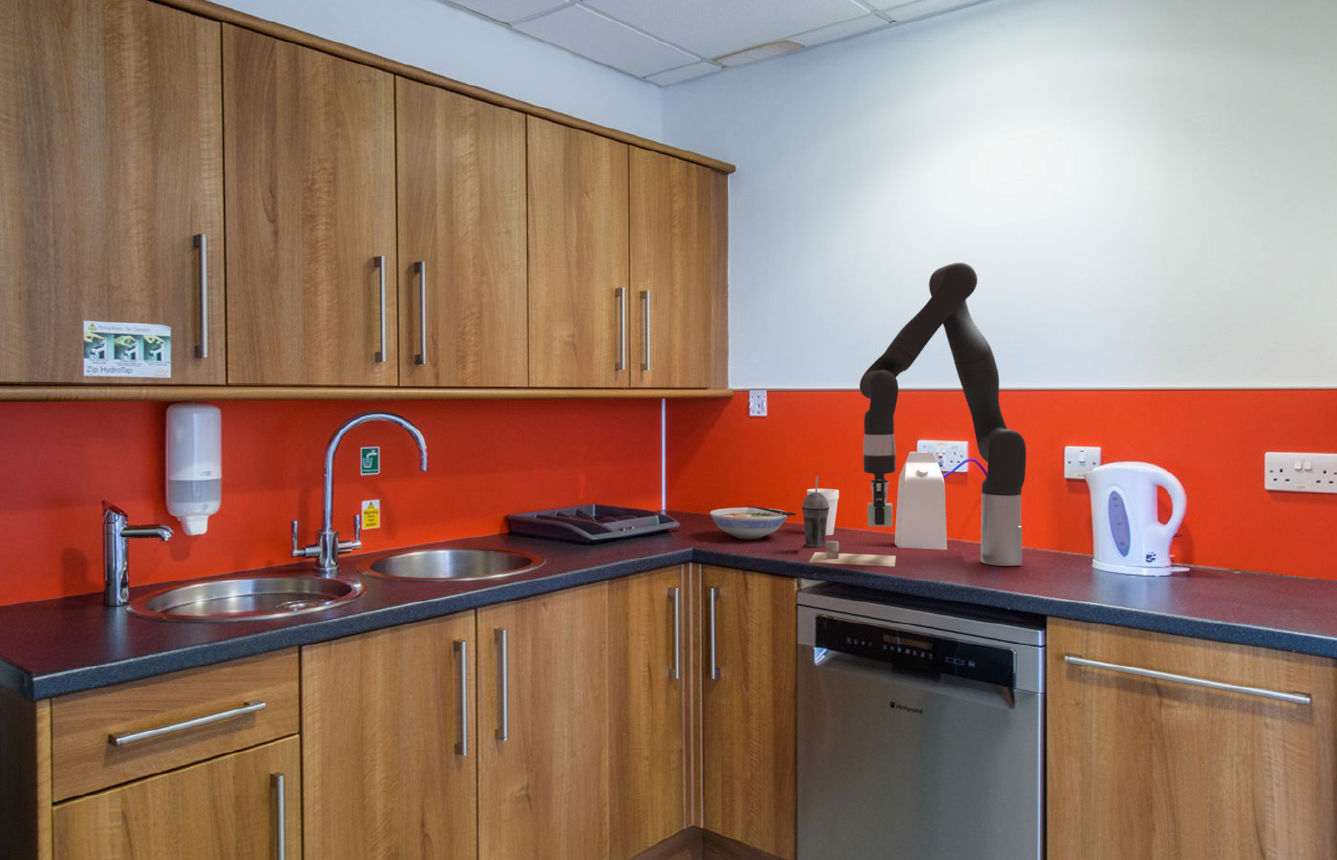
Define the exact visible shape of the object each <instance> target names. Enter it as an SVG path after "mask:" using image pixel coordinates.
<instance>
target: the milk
mask: <svg viewBox="0 0 1337 860" xmlns="http://www.w3.org/2000/svg"><path fill="white" fill-rule="evenodd" d="M944 479H945V478H944V475H943V473H942V471H941V468H940V466H939V463H938V461H937V458H936V456H935V455H934V453H933V452H932V451H910V452H909V453H908V456H907V458H906V460H905V462H904V464H903V467H902V469H901V471H900V474H899V476H898V486H897V497H896V498H897V501H896V513H895V514H896V517H895V529H894V530H895V531H894V544H895V546H896V547H897V548H899V549H901V548H904V549H923V550H925V549H927V550H948V542H947V541H948V539H947V514H946V513H947V512H946V507H947V506H946V484H945V480H944Z"/></svg>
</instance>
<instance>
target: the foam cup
mask: <svg viewBox="0 0 1337 860" xmlns="http://www.w3.org/2000/svg"><path fill="white" fill-rule="evenodd" d="M815 490H816V488H809V489H807V490H806V492H807V493H806V494H807V495H809V494H811V493H815ZM817 493H820V494H822V495H823V496H824V497H825V498H826V499H827V501H828V505H829V512H828V516H827V525H826V536H833V535H834V531H835V526H836V523H835V522H836V517H837V511H838V502H839V499H840V490H839V489H833V488H817ZM807 495H806V496H807Z"/></svg>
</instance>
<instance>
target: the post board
mask: <svg viewBox="0 0 1337 860" xmlns="http://www.w3.org/2000/svg"><path fill="white" fill-rule="evenodd" d="M825 547H826V549H825V550H826V552H822V551H821V552H820V551H818V552H817V551H815V552H814V553H813V555H812V557H811V558H810V559H809V562H808V563H814V564H817V563H818V564H837V565H853V566H854V565H857V566H859V565H860V566H876V567H877V566H879V567H896V558H897V555H884V554H883V555H882V554H881V555H880V554H864V553H863V554H862V553H861V554H860V553H859V554H858V553H842V552H841V553H839V552H840V551H839V550H840V542H839V541H837V540H827V541H825Z"/></svg>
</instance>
